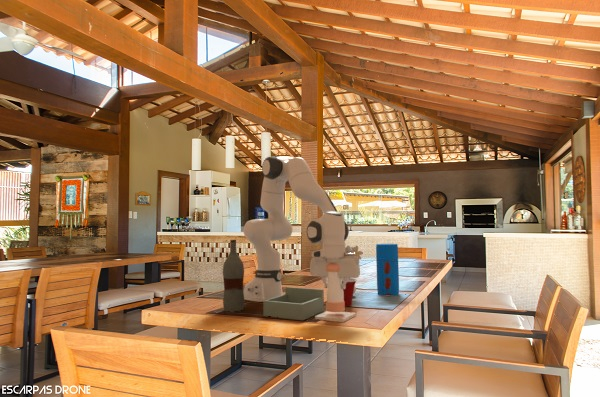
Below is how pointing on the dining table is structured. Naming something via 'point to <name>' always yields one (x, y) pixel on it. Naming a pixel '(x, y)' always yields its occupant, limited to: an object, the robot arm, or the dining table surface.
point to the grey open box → (295, 304)
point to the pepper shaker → (334, 290)
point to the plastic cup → (349, 291)
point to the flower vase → (354, 250)
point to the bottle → (233, 281)
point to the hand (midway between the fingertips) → (334, 288)
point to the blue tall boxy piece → (387, 269)
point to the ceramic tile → (335, 316)
